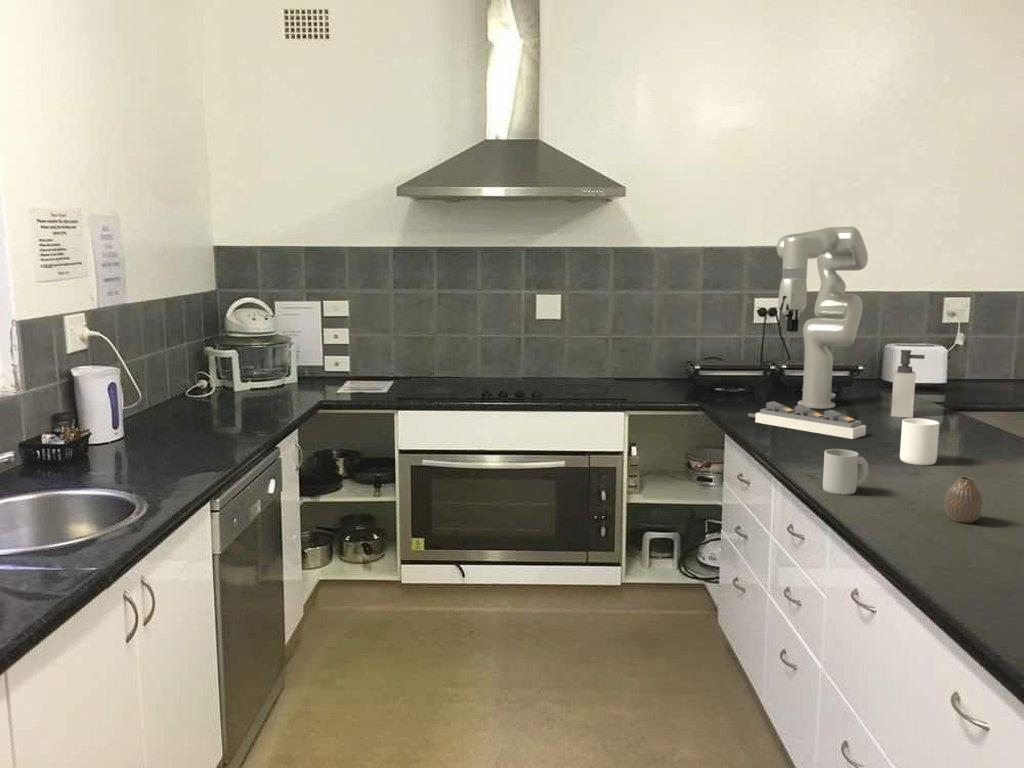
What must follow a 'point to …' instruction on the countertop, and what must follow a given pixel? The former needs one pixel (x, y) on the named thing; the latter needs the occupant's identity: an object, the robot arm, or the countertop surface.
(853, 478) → the cup
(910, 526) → the countertop surface
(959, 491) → the vase
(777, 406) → the rocker
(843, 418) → the rocker
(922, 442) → the mug
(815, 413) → the rocker
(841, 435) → the power strip
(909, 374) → the soap dispenser
